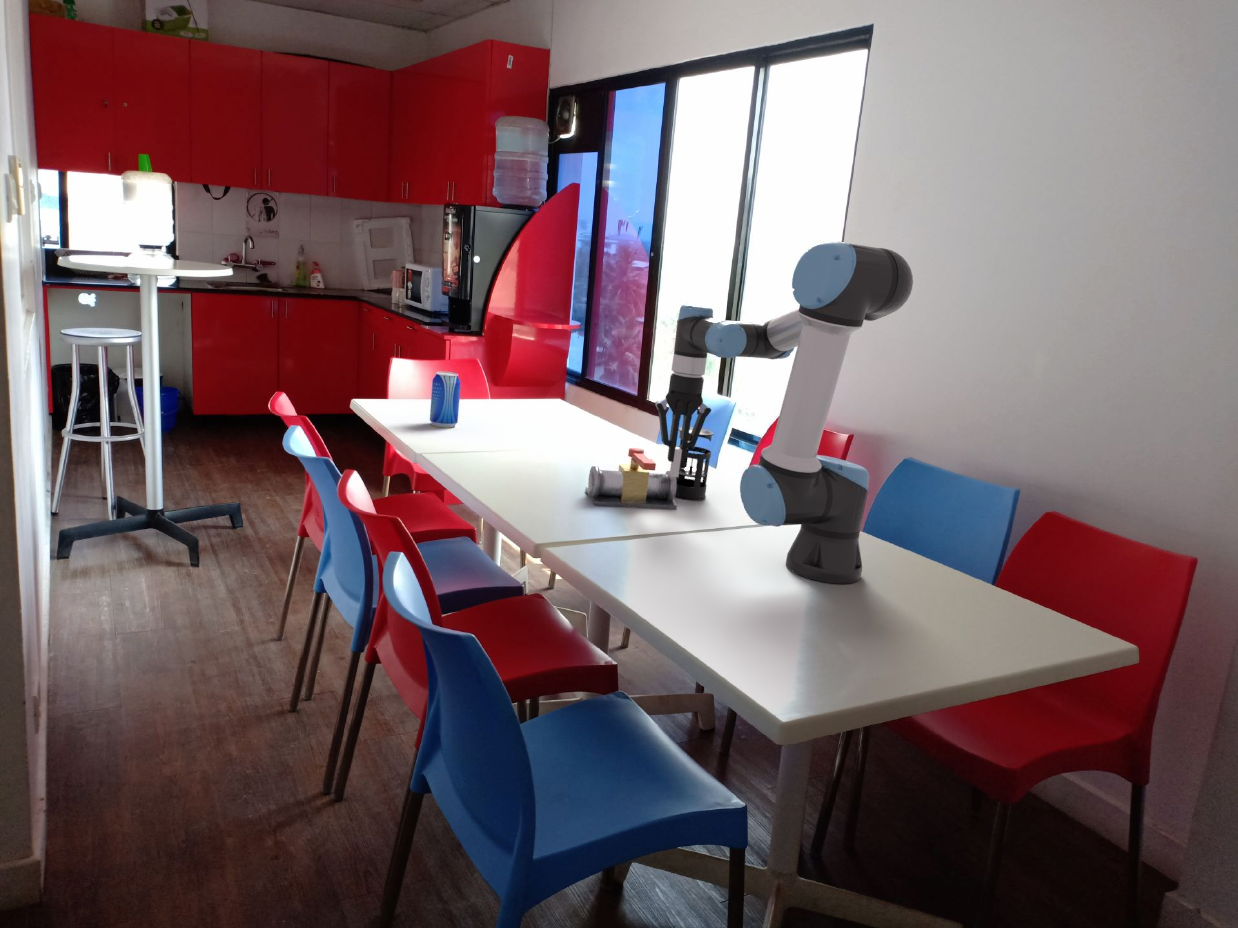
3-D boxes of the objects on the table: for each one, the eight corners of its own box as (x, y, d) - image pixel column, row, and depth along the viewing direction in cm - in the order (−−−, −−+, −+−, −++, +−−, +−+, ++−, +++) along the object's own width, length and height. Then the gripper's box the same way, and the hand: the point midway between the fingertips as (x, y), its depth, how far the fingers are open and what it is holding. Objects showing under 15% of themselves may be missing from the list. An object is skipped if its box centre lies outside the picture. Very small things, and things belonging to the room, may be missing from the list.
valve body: (663, 495, 232) (668, 455, 230) (676, 509, 221) (682, 467, 218) (585, 491, 227) (589, 449, 225) (594, 505, 216) (599, 461, 214)
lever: (626, 454, 223) (627, 447, 222) (641, 455, 224) (641, 448, 223) (641, 469, 209) (642, 462, 208) (656, 470, 210) (657, 463, 209)
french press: (713, 501, 232) (726, 411, 227) (679, 501, 228) (692, 410, 223) (692, 488, 243) (704, 402, 237) (660, 488, 239) (671, 400, 234)
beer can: (426, 422, 285) (430, 370, 281) (453, 422, 289) (457, 371, 285) (433, 428, 278) (436, 375, 274) (460, 428, 281) (464, 376, 278)
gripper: (711, 374, 213) (697, 473, 218) (656, 369, 211) (643, 469, 216) (719, 379, 206) (705, 481, 211) (662, 374, 204) (649, 477, 209)
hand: (673, 475), depth 214 cm, fingers closed
